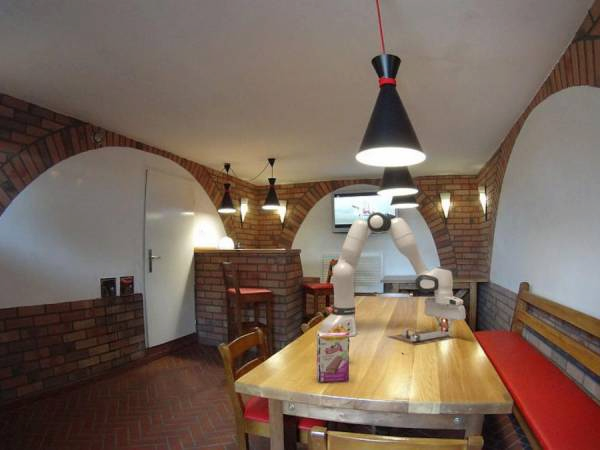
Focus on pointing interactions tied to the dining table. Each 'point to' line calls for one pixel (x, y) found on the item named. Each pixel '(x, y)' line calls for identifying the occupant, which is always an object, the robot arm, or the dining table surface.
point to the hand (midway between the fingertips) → (444, 326)
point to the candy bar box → (332, 357)
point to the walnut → (411, 333)
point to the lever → (441, 333)
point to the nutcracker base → (404, 338)
